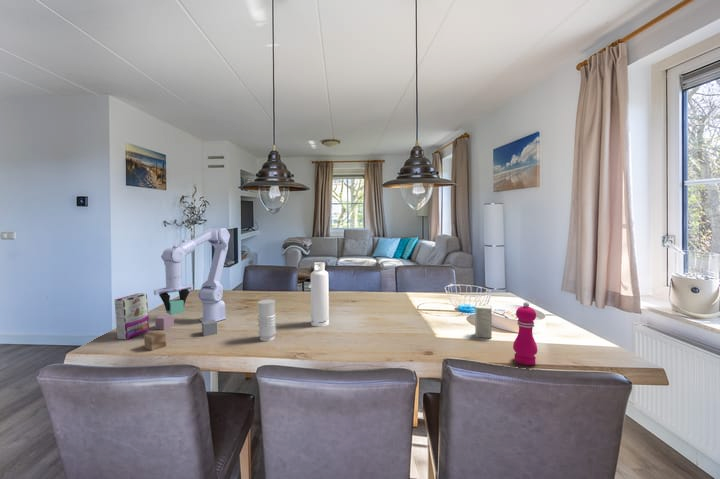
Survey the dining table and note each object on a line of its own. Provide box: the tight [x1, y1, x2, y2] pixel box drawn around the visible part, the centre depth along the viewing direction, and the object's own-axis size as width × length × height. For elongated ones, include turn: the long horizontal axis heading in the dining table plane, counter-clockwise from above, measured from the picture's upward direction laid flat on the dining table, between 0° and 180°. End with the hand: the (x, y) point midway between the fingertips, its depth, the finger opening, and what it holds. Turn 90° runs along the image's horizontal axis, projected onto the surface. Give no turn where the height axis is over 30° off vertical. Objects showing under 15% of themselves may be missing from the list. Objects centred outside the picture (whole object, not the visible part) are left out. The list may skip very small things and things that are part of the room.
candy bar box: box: [114, 292, 150, 341], centre depth 135 cm, size 11×5×16 cm, turn 168°
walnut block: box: [143, 330, 167, 352], centre depth 122 cm, size 5×5×5 cm
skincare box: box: [474, 304, 493, 339], centre depth 132 cm, size 6×4×12 cm
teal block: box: [165, 298, 185, 316], centre depth 137 cm, size 5×5×5 cm
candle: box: [257, 298, 277, 342], centre depth 131 cm, size 7×7×15 cm
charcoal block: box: [201, 319, 218, 337], centre depth 137 cm, size 5×5×5 cm
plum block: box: [154, 314, 175, 331], centre depth 145 cm, size 5×5×5 cm
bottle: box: [310, 261, 330, 327], centre depth 148 cm, size 8×8×28 cm
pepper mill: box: [512, 301, 538, 366], centre depth 108 cm, size 7×7×20 cm
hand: (175, 309), depth 137 cm, fingers closed on teal block, 5 cm apart
